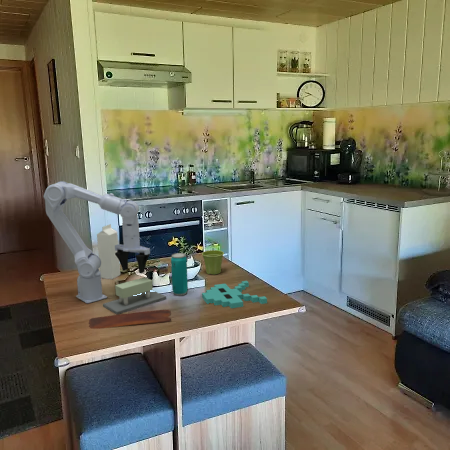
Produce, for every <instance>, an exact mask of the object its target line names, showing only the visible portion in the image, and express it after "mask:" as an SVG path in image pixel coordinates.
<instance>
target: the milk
mask: <svg viewBox="0 0 450 450" xmlns="http://www.w3.org/2000/svg"><path fill="white" fill-rule="evenodd" d="M96 239H97V252H98V253H97V254H98V257H99V258H100V259H101V266H100V267H99V271H100V272H101V279H107V280H114V279H115V278H118V277H119V276H121V266H120V265H121V264H120V261H119V259H118V258H117V256H116V255H115V253H116V252H117V251H115V245H117V244H119V237H118V231H117V230H116V229H114V228H112V224H111V223H110V224H107V225H104V226H102V230H101V231H100V232H98V233H97V234H96Z"/></svg>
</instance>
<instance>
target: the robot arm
mask: <svg viewBox="0 0 450 450" xmlns="http://www.w3.org/2000/svg"><path fill="white" fill-rule="evenodd" d="M75 198H77V199H80V200H83V201H87V202H90V203H94V204H98V206H99V207H100V209H101V210H104V211H107V212H109V213H112V214H115V215H118V216H119V215H120V217H121V218H122V223H121V224H122V240H123V241H122V242H123V244H120V243H118V244H117V245H115V251H117V252H116V253H115V255H116V256H117V258H118V259H119V263H120V265H121V266H120V267H121V269H122V271H125V272H126V271H127V270H129V269H128V268H129V253H135V254H137V255H135V259H136V262H137V266H138V267H137V268H138V273H139V274H144V273H145V271H146V265H147V261H148V259H149V257H150V255H151V248H150V247H149V248H148V247H145V246H142V245H141V244H140V243H141V241H140V240H141V239H140V227H139V226H140V225H139V216H138V213H139V205H138V203H137V202H136V201H134V200H133V199H132V200H131V199H130V200H129V199H127V198H121V197H119V196H118V197H117V196H116V195H115V194H114V193H112V192H110V193H105V194H103V195H102V194H100V193H96V192H94V191H92V190H89V189H86V188H85V187H82V186H79V185H76V184H74V183H71V182H69V183H68V182H67V181H63V180H62V181H57V182H56V183H53V184H50V185H48V186H47V188H46V189H45V191H44V194H43V199H44V205H45V213H46V216H47V217H48V218H49V220H50V221H51V223H52V224H53V226H54V228H55V229H56V230H57V232H58V233H59V235H60V236H61V238H62V240H63V241H64V243H65V244H66V245H67V247H68V249H69V251H70V252H71V253H72V255H73V257H74V263H75V265H76V267H77V272H78V274H79V275H78V276H77V280H76V282H77V285H76V286H77V295H76V296H75V297H76V298H77V299H79V300H81V301H82V302H84V303H85V304H91V303H95V302H99V301H100V300H105V299H107V298H108V296H107V295H105V294H103V285H102V284H103V283H102V278H101V272H100V266H101V259H100V258H99V255H97V254H95V253H94V252H93V250H92V249H90V248H88V246H87V245H86V243H85V242H84V240H83V238H81V235H80V234H79V233H78V231H77V230H76V228H75V226H74V225H73V224H72V222H71V220H69V218H68V217H67V215H66V213H65V212H64V207H65V205H66V201H67V200H70V199H75Z"/></svg>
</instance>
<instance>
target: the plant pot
mask: <svg viewBox="0 0 450 450" xmlns="http://www.w3.org/2000/svg"><path fill="white" fill-rule="evenodd" d="M224 255H225V251H222V250H215V249H213V250H212V249H211V250H205V251H203V252H202V253H201V256H202V258H203V262H204V265H205V266H204V267H205V271H206V274H208V275H218V274H221V272H222V271H221V270H222V262H223V257H224Z"/></svg>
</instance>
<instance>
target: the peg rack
mask: <svg viewBox="0 0 450 450" xmlns="http://www.w3.org/2000/svg"><path fill="white" fill-rule="evenodd" d="M164 300H167V296H166V295H164V294H163V293H160V292H157V291H155V292H150V291H147V292H146V294H145V292H143V293H142V294H141V295H137V296H130V297H127V298H121V297H119V296H118V299H114V300H111V301H107V302H104V303H102V307H103V308H105V309H106V310H108V311H110V312H111V313H113V314H114V315H119V314H125V313H127V312H130V311H133V310H136V309H139V308H142V307H146V306H148V305H153V304H156V303H158V302H162V301H164Z"/></svg>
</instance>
